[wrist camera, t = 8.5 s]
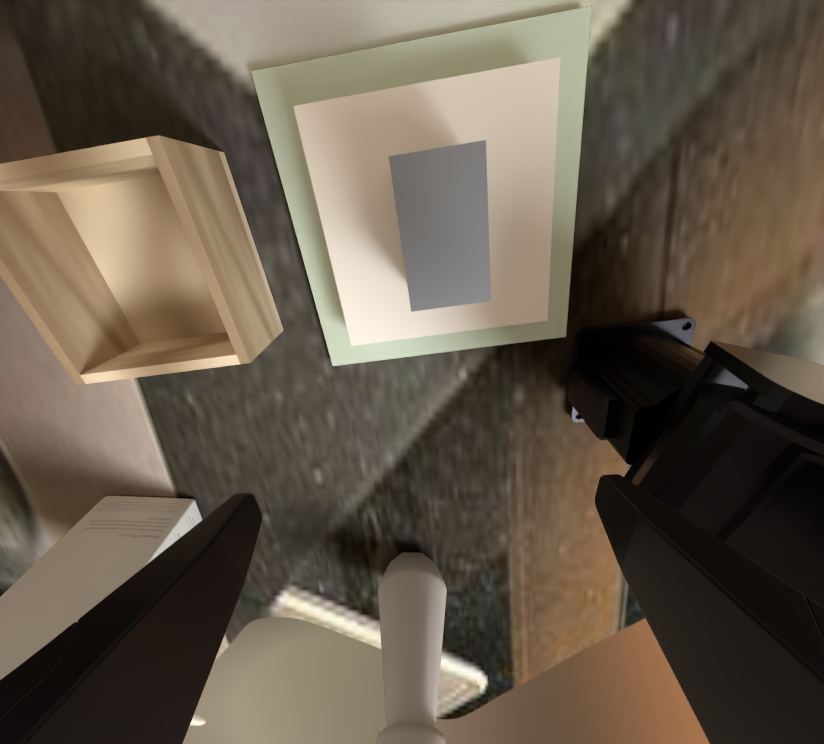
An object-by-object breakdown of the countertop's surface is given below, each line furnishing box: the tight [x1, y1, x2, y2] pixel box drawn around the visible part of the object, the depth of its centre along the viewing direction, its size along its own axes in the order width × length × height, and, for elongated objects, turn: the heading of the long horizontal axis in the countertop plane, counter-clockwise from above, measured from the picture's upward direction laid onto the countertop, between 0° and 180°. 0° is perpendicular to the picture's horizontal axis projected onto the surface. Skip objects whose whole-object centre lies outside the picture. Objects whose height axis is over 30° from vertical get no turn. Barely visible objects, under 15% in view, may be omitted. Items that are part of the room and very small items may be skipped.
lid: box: [293, 57, 560, 346], centre depth 14 cm, size 10×10×6 cm
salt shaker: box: [376, 553, 447, 744], centre depth 24 cm, size 6×6×13 cm
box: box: [0, 135, 283, 385], centre depth 16 cm, size 9×9×4 cm
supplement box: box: [0, 496, 202, 680], centre depth 22 cm, size 7×7×13 cm
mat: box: [251, 6, 592, 366], centre depth 17 cm, size 14×14×1 cm
